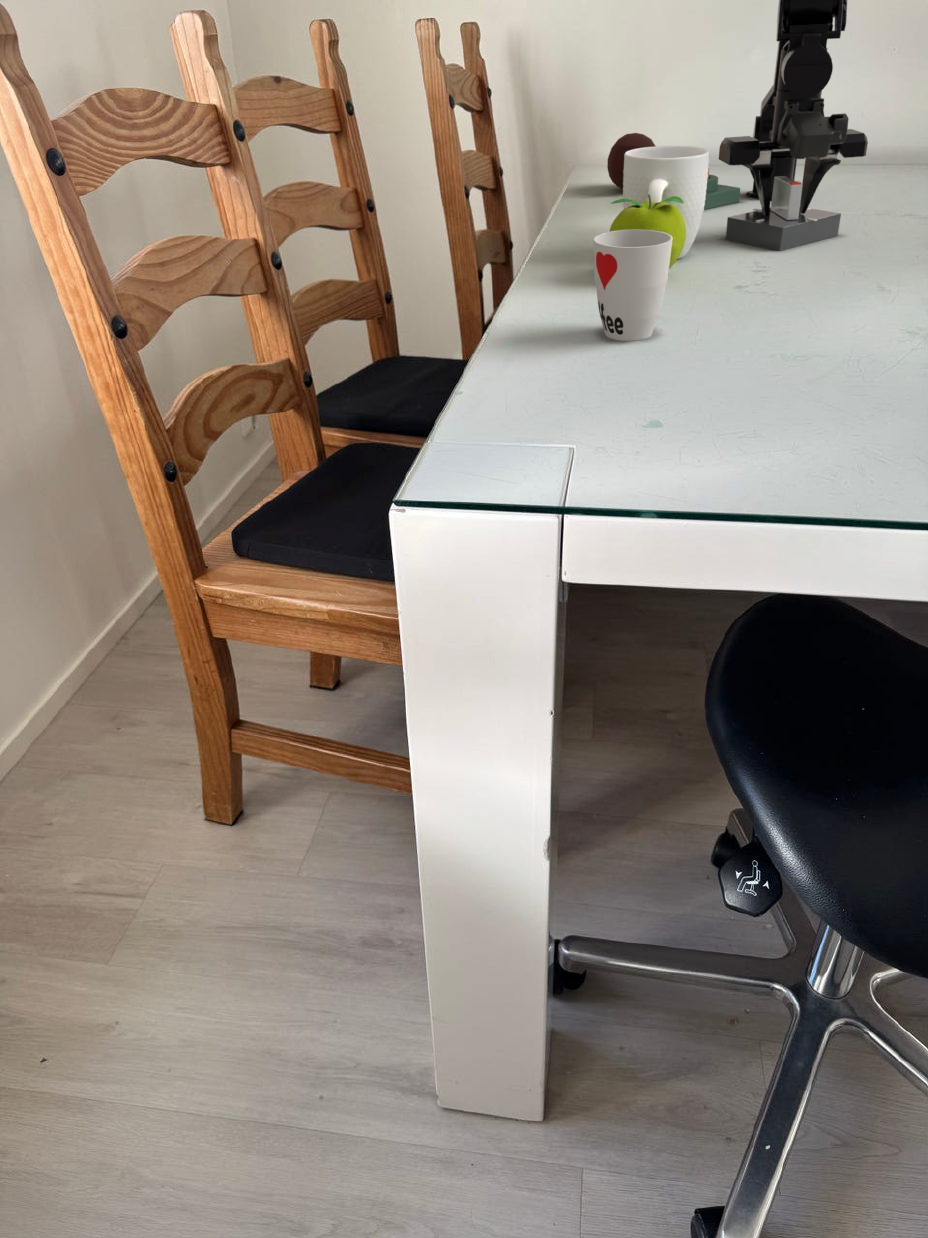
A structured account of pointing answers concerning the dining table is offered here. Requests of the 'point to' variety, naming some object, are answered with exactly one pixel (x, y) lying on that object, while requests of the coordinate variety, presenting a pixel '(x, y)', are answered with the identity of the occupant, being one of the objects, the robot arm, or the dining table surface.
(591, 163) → the dining table surface
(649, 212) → the fruit
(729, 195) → the tap control
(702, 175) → the mug
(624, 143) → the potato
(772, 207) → the red-tipped white block
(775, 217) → the base
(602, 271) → the cup
